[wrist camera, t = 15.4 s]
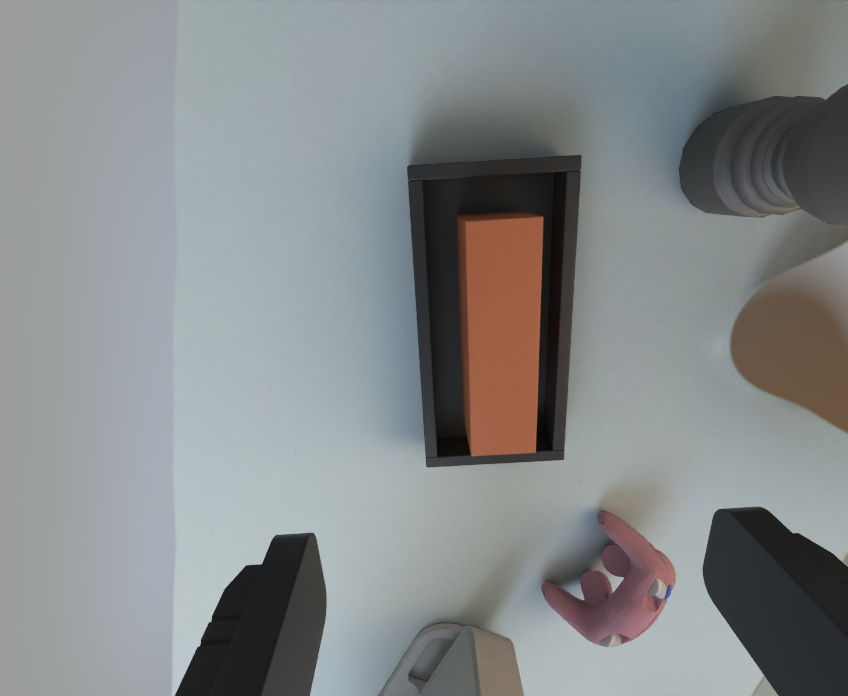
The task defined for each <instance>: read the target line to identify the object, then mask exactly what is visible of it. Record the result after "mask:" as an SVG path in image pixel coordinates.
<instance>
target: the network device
mask: <svg viewBox="0 0 848 696" xmlns="http://www.w3.org/2000/svg"><path fill="white" fill-rule="evenodd" d="M440 637H441V638H447V639H450V640H453V641H455V642H454V643H453V645H452V646H451V648H450V649H449V651H448V652H447V654H446V655H445V657H444V658H443V659H442V661H441V662H440V664H439V665H438V667H437V668H436V670H435V671H434V673H433V674H432V676H431V677H430V679H429V680H428V682H426V681H423V680H420V679H417V678H414V677H412V676H411V675H410V674H409V672H410V670H411V669H412V667H413V666H414V664H415V663H416V661H417V659H418V658H419V656H420V655H421V653H422V652H423V650H424V649H425V647H426V646H427V644H428V643H429V642H430V641H431V640H432V639H435V638H440ZM379 696H524V694H523V689H522V684H521V679H520V674H519V670H518V665H517V660H516V655H515V650H514V646H513V643H512V641H511V640H510V639H508V638H506V637H503V636H500V635H497V634H494V633H491V632H488V631H485V630H481V629H478V628H475V627H472V626H469V625H467V626H466V627H463V626H460V625H456V624H452V623H440V624H435V625H432V626H429V627H427V628H425V629H424V630H422V631H421V632H420V633H419V634H418V635H417V637H416V638H415V640H414V641H413V643H412V645H411V646H410V648H409V649H408V651H407V653H406V654H405V656H404V657H403V659H402V660H401V662H400V664H399V665H398V667H397V668H396V670H395V671H394V673H393V675H392V676H391V678H390V679H389V681H388V683H387V684H386V686H385V687H384V689H383V690H382V692H381V694H380V695H379Z"/></svg>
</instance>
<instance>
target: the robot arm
mask: <svg viewBox="0 0 848 696" xmlns="http://www.w3.org/2000/svg"><path fill="white" fill-rule="evenodd" d="M703 578H704V582H705V586H706V589H707V591H708V594H709V596H710V598H711V599H712V601H713V603H714V604H715V606H716V607H717V609H718V610H719V611H720V613H721V614H722V616H723V617H724V618H725V620H726V621H727V623H728V624H729V626H730V627H731V628H732V630H733V631H734V633H735V634H736V636H737V637H738V638H739V640H740V641H741V643H742V644H743V646H744V647H745V648H746V650H747V651H748V653H749V654H750V656H751V657H752V658H753V660H754V661H755V663H756V664H757V666H758V667H759V668H760V670H761V671H762V673H763V674H764V675H765V677H766V678H767V680H768V681H769V682H770V684H771V685H772V687H773V688H774V690H775V691H776V692H777V694H778V695H779V696H848V567H847V566H846V565H845V564H844V563H843V562H841V561H840V560H839V559H838V558H837V557H836V556H835V555H834V554H832V553H831V552H829V551H827V550H826V549H824V548H822V547H821V546H819V545H817V544H816V543H814V542H812V541H811V540H809V539H807V538H806V537H804V536H802V535H800V534H799V533H792V532H791V531H789V530H788V529H787V528H786V527H785V526H784V525H783V524H782V523H781V522H780V521H779V520H778V519H777V518H776V517H775V516H774V515H772V514H771V513H770V512H769V511H768V510H766V509H764V508H762V507H745V508H729V509H719V510H717V511H716V512H715V514H714V516H713V520H712V525H711V529H710V534H709V539H708V544H707V549H706V554H705V559H704V564H703ZM325 617H326V587H325V582H324V576H323V571H322V566H321V560H320V555H319V550H318V545H317V540H316V536H315V534H314V533H302V534H286V535H276V536H275V537H274V538H273V539H272V541H271V543H270V546H269V548H268V551H267V553H266V556H265V558H264V561H263V563H262V565H246V566H245V567H244V569H243V570H242V571H241V572H240V573H239V574H238V575H237V576H236V577H235V578H234V580H233V581H232V582H231V583H230V584H229V585H228V586H227V587H226V588H225V590H224V592H223V594H222V596H221V598H220V601H219V603H218V605H217V607H216V609H215V611H214V613H213V616H212V621H211V622H209V624H208V626H207V628H206V630H205V633H204V635H203V637H202V639H201V645H200V647H198V648H197V650H196V652H195V654H194V656H193V658H192V660H191V662H190V665H189V667H188V669H187V671H186V673H185V675H184V677H183V680H182V682H181V684H180V686H179V688H178V690H177V692H176V695H175V696H310V692H311V687H312V682H313V677H314V672H315V668H316V663H317V658H318V653H319V648H320V643H321V639H322V634H323V629H324V624H325Z"/></svg>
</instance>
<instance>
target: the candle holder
mask: <svg viewBox="0 0 848 696" xmlns="http://www.w3.org/2000/svg"><path fill="white" fill-rule="evenodd" d="M679 174H680V181H681V188H682V190H683V192H684V194H685V195H686V197H687V198H688V200H689V201H690V203H691V204H692V205H694V206H695V207H697V208H699V209H701V210H702V211H704V212H706V213H712V214H723V215H733V216H744V217H761V218H762V217H765V216H768V215H771V214H778V215H783V214H786V213H789V212H792V211H795V210H798V209H803V210H804V211H806V212H808V213H810V214H811V215H813V216H815V217H816V218H818V219H820V220H822V221H824V222H826V223H828V224H833V225H846V226H848V84H847V85H845V86H843V87H841V88H840V89H839V90H838V91H836V92H835V93H834V94H833V95H831V96H830V97H829V98H827V99H826V100H824V99H823V98H820V97H805V96H795V97H783V96H774V97H770V98H766V99H762V100H758V101H754V102H750V103H746V104H742V105H738V106H734V107H731V108H728V109H726V110H723V111H720V112H717V113H715V114H713V115H712V116H711V117H710V118H708V119H707V120H706V121H705V122H704V123H702V124H701V125H700V126H699V127H698V128H696V130H695V131H694V133H693V135H692V136H691V138H690V139H689V141H688V143H687V144H686V146H685V147H684V150H683V155H682V159H681V163H680V167H679Z"/></svg>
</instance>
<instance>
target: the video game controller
mask: <svg viewBox="0 0 848 696" xmlns="http://www.w3.org/2000/svg"><path fill="white" fill-rule="evenodd" d="M597 519H598V522H599V524H600V526H601V527H602V529H603V530H604V532H605V533H606V534H607V535H608V536H609V537H610V538H611V539H612V540H613V541H614V542H615V543H616V544H618V545H608V546H607V547H606V548H605V549H604V550H603V553H602V562H603V564H604V566H605V568H606V569H607V570H608V571H609V572H610V573H611V574H613V575H615V576H618V577H624V580H623V581H622V582H621V584H620V585H619V586H618V588H617V589H616V590H615V591H614V593H612V587H611V584H610V582H609V580H608V578H607V577H606V576H605V575H604V574H603V573H602V572H600V571H596V570H594V571H588V572H585V573H584V574H583V575H582V577H581V580H580V584H581V589H582V592H583V595H584V599H585V600H584V601H583V600H580V599H578V598H576V597H574V596H573V595H571V594H570V593H568V592H567V591H566V590H564V589H563V588H561V587H559V586H557V585H556V584H554V583H551V582H544V583H543V584H542V586H541V590H542V593H543V595H544V597H545V599H546V601H547V602H548V603H549V605H550V606H551V607H552V608H553V609H554V610H555V611H556V612H557V613H558V614H559V615H560V616H561V617H563V618H564V619H565V620H566V621H567V622H568V623H569V624H570V625H571V626H572V627H574V628H575V629H576V630H577V631H578V632H579V633H580V634H581V635H582V636H584V637H585V638H586V639H587V640H589V641H590V642H592V643H595V644H597V645H600V646H604V647H615V646H619V645H620V644H623V643H626V642H629V641H631V640H633V639H635V638H637V637H638V636H640V635H641V634H642V633H644V632H645V631H646V630H647V629H648V628H649V627H651V625H652V624H653V623H654V622H655V620H656V619H657V618H658V616H659V615H660V613H661V611H662V610H663V608H664V606H665V603H666V601H667V598H668V597H669V596H670V593H671V591H672V589H673V588H674V585H675V581H676V574H675V570H674V567H673V565H672V563H671V562H670V560H669V559H668V558H667V557H666V556H665V555H664V554H663V553H662V552H661V551H659V550H657V549H655V548H654V546H653V545H652V544H650V543H649V542H648V541H647V540H646V539H645V538H644V537H643V536H642V535H640V534H639V533H638V532H637V531H636V530H634V529H633V528H632V527H631V526H629V525H628V524H627V523H625V522H624V521H622V520H621V519H619V518H617V517H616V516H614V515H612V514H609V513H606V512H600V513H599V514H598V516H597Z"/></svg>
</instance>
